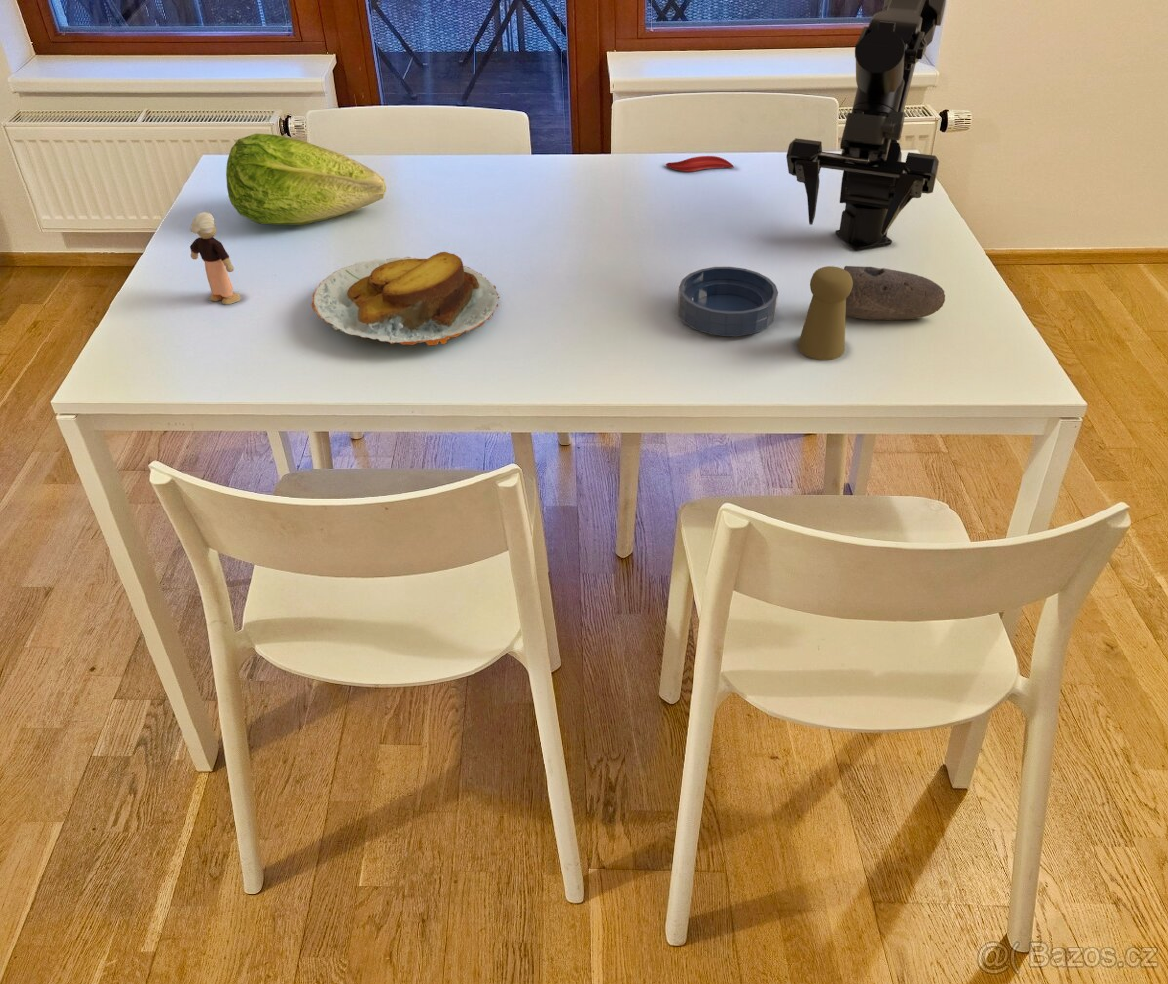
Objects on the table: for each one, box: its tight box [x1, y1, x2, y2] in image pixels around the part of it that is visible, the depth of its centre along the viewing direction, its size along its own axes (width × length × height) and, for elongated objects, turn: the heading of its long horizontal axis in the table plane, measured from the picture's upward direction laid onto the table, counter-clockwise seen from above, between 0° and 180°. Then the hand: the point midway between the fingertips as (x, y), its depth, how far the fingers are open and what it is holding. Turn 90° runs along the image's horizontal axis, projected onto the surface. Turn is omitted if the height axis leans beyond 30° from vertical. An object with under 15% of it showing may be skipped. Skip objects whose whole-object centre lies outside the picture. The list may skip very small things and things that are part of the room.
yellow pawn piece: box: [797, 266, 853, 361], centre depth 131 cm, size 6×6×11 cm
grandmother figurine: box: [189, 211, 242, 305], centre depth 142 cm, size 8×4×13 cm, turn 71°
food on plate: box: [310, 251, 500, 346], centre depth 141 cm, size 25×25×7 cm
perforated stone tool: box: [843, 265, 946, 321], centre depth 139 cm, size 15×5×7 cm, turn 83°
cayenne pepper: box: [665, 155, 735, 172], centre depth 181 cm, size 12×5×2 cm, turn 79°
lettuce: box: [225, 133, 387, 226], centre depth 164 cm, size 15×24×14 cm, turn 98°
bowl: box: [677, 266, 779, 337], centre depth 140 cm, size 13×13×4 cm
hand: (846, 228), depth 132 cm, fingers open, 9 cm apart
